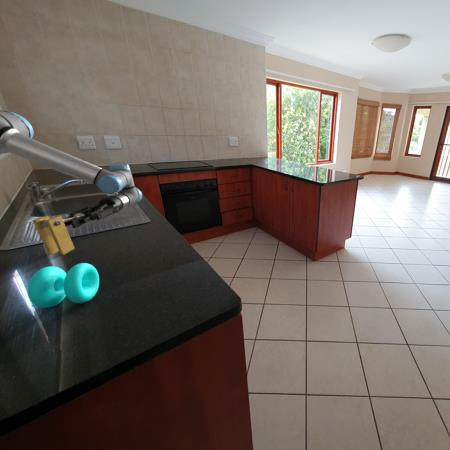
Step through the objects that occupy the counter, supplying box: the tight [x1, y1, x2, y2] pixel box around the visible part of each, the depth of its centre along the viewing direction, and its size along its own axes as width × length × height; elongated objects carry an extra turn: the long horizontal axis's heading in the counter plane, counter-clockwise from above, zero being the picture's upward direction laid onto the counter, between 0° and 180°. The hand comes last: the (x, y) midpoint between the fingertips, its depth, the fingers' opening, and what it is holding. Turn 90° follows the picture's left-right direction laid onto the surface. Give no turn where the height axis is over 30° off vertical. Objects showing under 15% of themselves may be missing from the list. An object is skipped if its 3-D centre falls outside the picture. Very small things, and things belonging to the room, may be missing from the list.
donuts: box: [27, 262, 100, 309], centre depth 59 cm, size 10×10×10 cm
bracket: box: [32, 215, 75, 256], centre depth 79 cm, size 10×8×14 cm
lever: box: [41, 213, 84, 228], centre depth 83 cm, size 14×3×3 cm, turn 0°
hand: (66, 224), depth 83 cm, fingers closed on lever, 3 cm apart
